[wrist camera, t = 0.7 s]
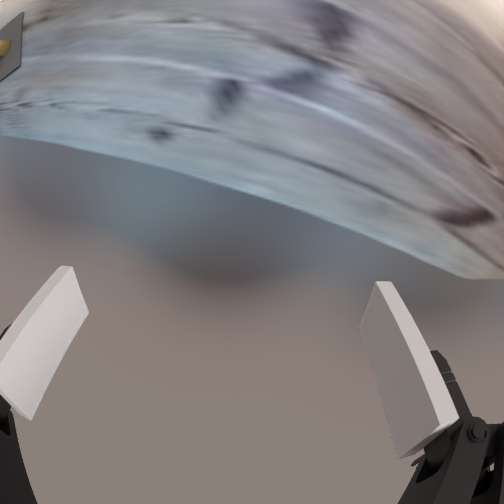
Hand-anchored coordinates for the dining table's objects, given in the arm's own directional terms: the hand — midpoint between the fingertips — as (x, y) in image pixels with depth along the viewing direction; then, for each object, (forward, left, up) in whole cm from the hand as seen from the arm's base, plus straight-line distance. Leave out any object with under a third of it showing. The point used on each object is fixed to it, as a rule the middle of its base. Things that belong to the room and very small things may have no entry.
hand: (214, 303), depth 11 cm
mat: (-32, -38, -26) cm, 56 cm away
